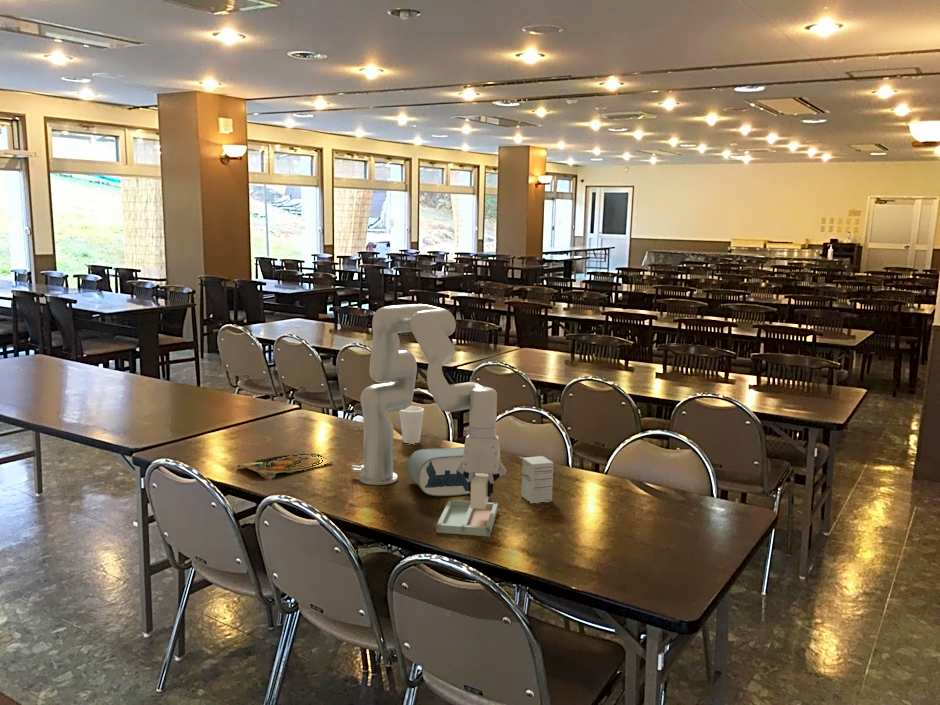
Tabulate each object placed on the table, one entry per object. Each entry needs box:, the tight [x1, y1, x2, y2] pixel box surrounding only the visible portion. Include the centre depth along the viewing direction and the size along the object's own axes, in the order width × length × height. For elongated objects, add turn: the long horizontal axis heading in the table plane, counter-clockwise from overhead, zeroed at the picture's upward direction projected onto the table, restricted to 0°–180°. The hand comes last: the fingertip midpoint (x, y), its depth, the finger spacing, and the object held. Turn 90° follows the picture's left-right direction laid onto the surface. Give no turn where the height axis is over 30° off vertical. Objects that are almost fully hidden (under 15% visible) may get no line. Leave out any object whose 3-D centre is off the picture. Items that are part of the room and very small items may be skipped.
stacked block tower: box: [520, 455, 554, 505], centre depth 244 cm, size 7×7×13 cm
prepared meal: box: [237, 452, 335, 478], centre depth 271 cm, size 28×4×18 cm
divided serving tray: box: [436, 498, 499, 537], centre depth 225 cm, size 15×20×2 cm
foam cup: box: [398, 405, 425, 445], centre depth 303 cm, size 10×9×13 cm
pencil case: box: [407, 446, 475, 497], centre depth 253 cm, size 22×19×13 cm
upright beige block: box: [470, 473, 490, 509], centre depth 223 cm, size 4×14×7 cm, turn 172°
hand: (481, 494), depth 224 cm, fingers closed on upright beige block, 4 cm apart
